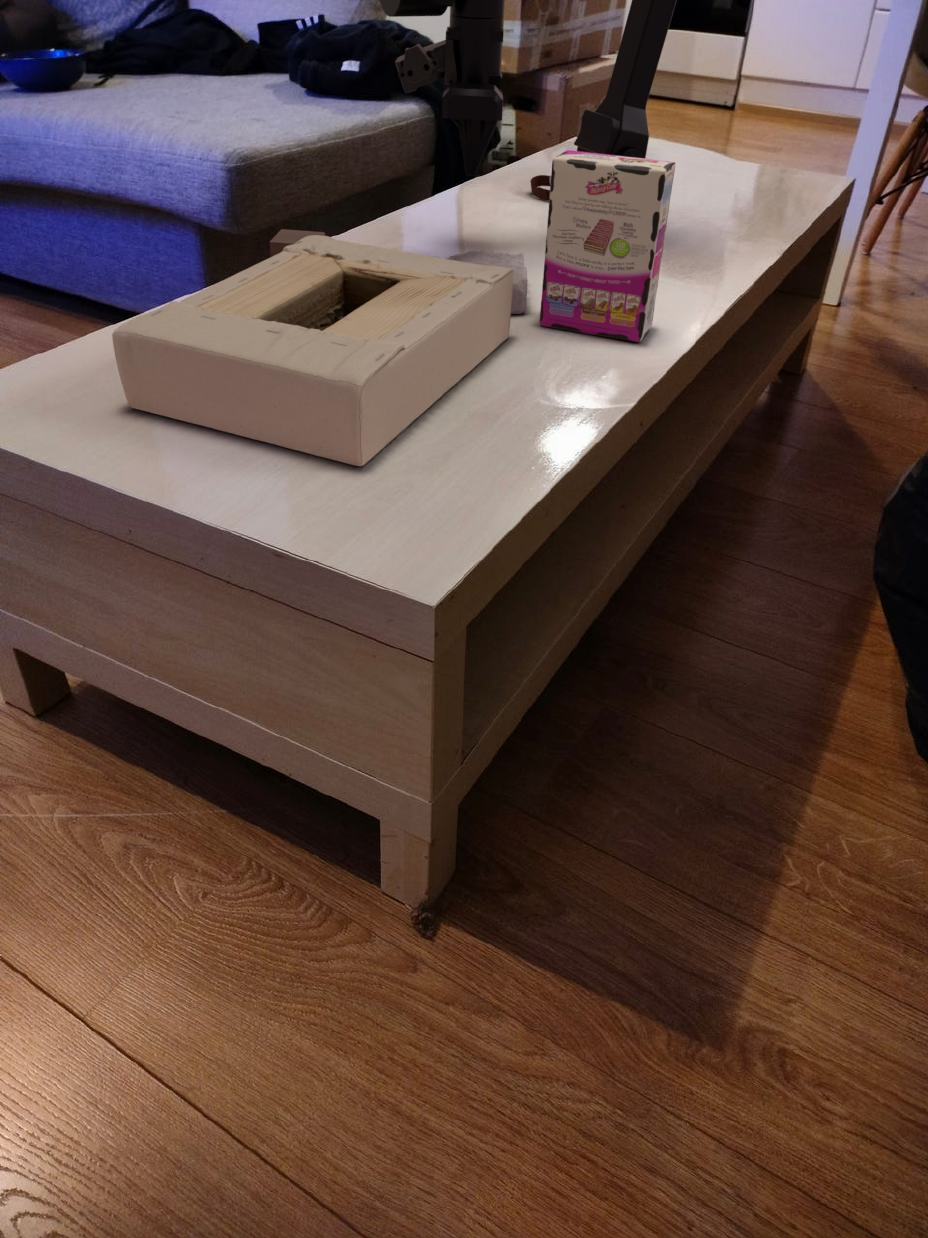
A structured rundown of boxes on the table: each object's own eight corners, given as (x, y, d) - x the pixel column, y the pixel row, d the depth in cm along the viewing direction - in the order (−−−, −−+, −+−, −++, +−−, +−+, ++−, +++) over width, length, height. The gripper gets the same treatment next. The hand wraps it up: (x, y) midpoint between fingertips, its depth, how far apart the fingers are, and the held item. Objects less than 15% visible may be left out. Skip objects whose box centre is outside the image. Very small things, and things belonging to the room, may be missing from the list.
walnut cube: (284, 273, 112) (281, 228, 109) (327, 276, 111) (325, 231, 108) (272, 287, 108) (269, 241, 105) (316, 291, 107) (314, 244, 104)
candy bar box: (652, 328, 102) (679, 160, 92) (641, 344, 98) (667, 171, 88) (551, 310, 105) (566, 146, 95) (536, 325, 101) (551, 156, 92)
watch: (582, 200, 143) (585, 174, 140) (563, 206, 140) (565, 179, 137) (541, 190, 146) (543, 164, 144) (521, 195, 144) (523, 169, 141)
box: (313, 299, 106) (121, 409, 82) (310, 225, 101) (105, 320, 77) (511, 340, 99) (365, 474, 75) (517, 263, 95) (364, 380, 71)
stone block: (442, 329, 104) (534, 313, 103) (433, 285, 101) (528, 268, 101) (442, 296, 114) (526, 281, 113) (434, 254, 111) (520, 239, 110)
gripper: (406, 2, 109) (406, 153, 118) (392, 21, 94) (393, 192, 104) (505, 7, 109) (497, 157, 119) (507, 27, 94) (497, 197, 104)
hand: (470, 174), depth 111 cm, fingers closed
